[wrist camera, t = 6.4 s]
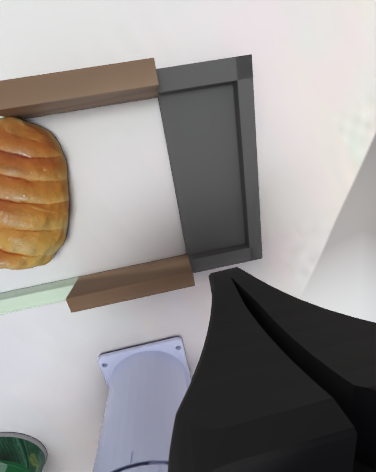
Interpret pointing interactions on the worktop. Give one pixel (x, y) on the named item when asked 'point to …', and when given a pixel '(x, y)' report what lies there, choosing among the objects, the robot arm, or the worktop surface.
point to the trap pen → (213, 158)
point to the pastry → (31, 195)
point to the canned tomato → (21, 453)
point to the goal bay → (35, 295)
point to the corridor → (83, 97)
